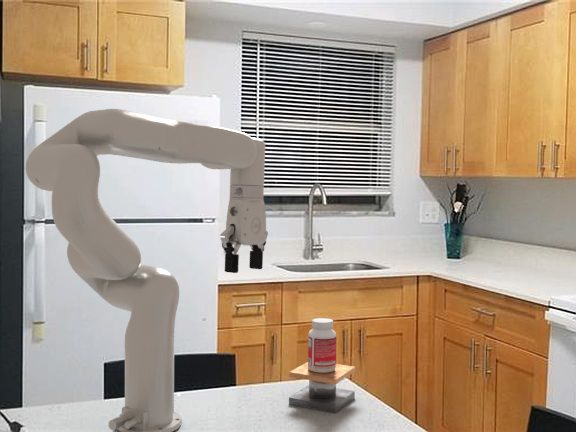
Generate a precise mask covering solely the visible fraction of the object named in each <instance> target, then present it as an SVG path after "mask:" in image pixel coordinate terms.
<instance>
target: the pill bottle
mask: <svg viewBox="0 0 576 432" xmlns="http://www.w3.org/2000/svg"><path fill="white" fill-rule="evenodd" d="M311 327H312V328H311V329H310V330H309V331H308V335H307V336H308V338H307V339H308V340H307V342H308V343H307V362H308V369H309V370H310V371H313V372H317V373H328V372H332V371H334V370H335V369H336V364H337V333H336V331H335V330H334V329H333V327H334V320H333V319H331V318H325V317H324V318H323V317H321V318H318V317H317V318H312V320H311Z"/></svg>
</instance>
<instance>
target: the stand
mask: <svg viewBox="0 0 576 432" xmlns="http://www.w3.org/2000/svg"><path fill="white" fill-rule="evenodd" d="M355 372H356V366H352V365H346V364H340V363H336V369H335V370H334V371H332V372H328V373H317V372H313V371H310V370H309V369H308V361H307V362H305V363H303V364H301V365H300V366H297V367H296V368H294V369H292V370H290V371H289V374H288V375H289V378H295V379H303V380H308V385H306V386H305V387H303V388H301V389H299V391H297V392H295V393H294V394H292V395H290V396H289V397H288V405H290V406H295V407H300V408H304V409H305V408H306V409H310V410H316V411H320V412H325V413H332V414H337V413H338V412H339V411H340V410H342V409H343V408H344V407H345V406H347V405H348V404H349V403H351V402H353V400H355V397H356V395H355V390H349V389H343V388H338V387H337V384H339V383H340V382H341V381H343V380H345V379H346V378H348V377H349V376H351V375H352V374H353V373H355Z"/></svg>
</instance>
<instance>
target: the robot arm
mask: <svg viewBox="0 0 576 432" xmlns="http://www.w3.org/2000/svg"><path fill="white" fill-rule="evenodd" d="M101 155H102V156H103V155H114V156H121V157H128V158H135V159H141V160H146V161H153V162H159V163H164V164H165V163H166V164H178V165H179V164H182V165H183V164H201V166H203V167H205V168H207V169H211V170H230V176H229V177H230V178H229V200H228V205H227V206H228V207H227V213H226V223H225V229H224V230H223V231H222V232H221V233H220V240H221V247H222V249H223V254H224V256H225V257H224V272H225V273H233V274H237V273H239V260H240V259H239V257H240V254H239V250H240V247H241V246H250V249H251V250H250V251H249V264H248V265H249V269H253V270H262V269H263V260H264V258H263V257H264V252H265V245H266V244H267V238H268V235H269V233H268V231H267V213H266V205H265V200H264V192H265V190H264V189H265V187H264V186H265V165H266V164H265V162H266V161H265V160H266V143H265V141H264V140H263V139H261V138H258V137H257V138H256V137H251V136H250V135H249V134H247V133H245V132H242V131H238V130H234V129H230V128H225V127H219V126H211V125H206V124H205V125H204V124H197V123H192V122H186V121H181V120H173V119H168V118H163V117H158V116H152V115H149V114H144V113H139V112H134V111H132V110H126V109H120V108H107V109H96V110H90V111H88V112H84V113H82V114H81V115H79V116H78V117H76V118H75V119H73V120H72V121H70V122H69V123H67V124H66V125H64V126H63V127H61V128H60V129H59V130H58V131H56V132H55V133H54V134H52V135H51V136H49V137H48V138H47V139H45V140H44V141H43V142H40V143H39V144H38V145H37V146H35V148H33V149H32V151H31V152H30V153H29V155H28V157H27V158H26V162H25V173H26V176H27V178H28V179H29V181H30V182H31V184H32V185H34V186H35V187H36V188H37V189H40V190H42V191H48V192H51V214H52V219H53V222H54V225H55V227H56V229H57V231H58V232H59V234H61V236H62V237H63V238H64V239H65V240H66V241H67V242H68V244H67V249H66V255H67V256H66V257H67V261H68V262H69V265H70V267H71V269H72V270H73V272H75V273H76V275H78V277H79V278H81V279H82V280H83V281H84V283H86V284H87V285H88V286H89V287H90V288H91V289H92V290H93V291H94V292H95V293H97V295H99V296H100V298H101V299H103V300H104V301H106V302H107V303H108V304H109V305H111V306H112V307H115V308H117V309H121V310H123V311H127V312H130V316H129V317H130V318H129V321H128V322H127V323H128V324H127V326H126V330H125V334H124V406H123V407H121V414H119V416H117V417H115V418H113V419H111V420H109V421H108V428H109V429H110V430H112V431H115V430H118V431H119V432H174V431H176V430H177V429H179V428H180V427H181V426H182V416H181V415H180V414H179V412H176V411H175V328H176V327H175V325H176V316H177V311H178V307H179V306H178V305H179V300H180V286H179V284H178V281H177V279H176V278H175V276H174V275H173V274H172V273H170V271H168V270H166V269H164V268H161V267H157V266H151V265H147V264H141V263H142V256H141V255H142V254H141V251H140V249H139V247H138V245H137V244H136V242H135V241H134V240H133V238H131V236H130V235H128V234H127V232H126V231H124V229H123V228H122V227H121V226H120V225H119V224H118V223H117V222H116V221H115V220H114V219H113V218H112V217H111V216H110V215H109V214H108V212H107V211H106V210H105V208H104V207H103V206H102V204H101V203H100V199H99V193H98V192H99V183H100V176H101V166H100V161H99V157H98V156H101ZM237 253H238V254H237Z"/></svg>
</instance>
